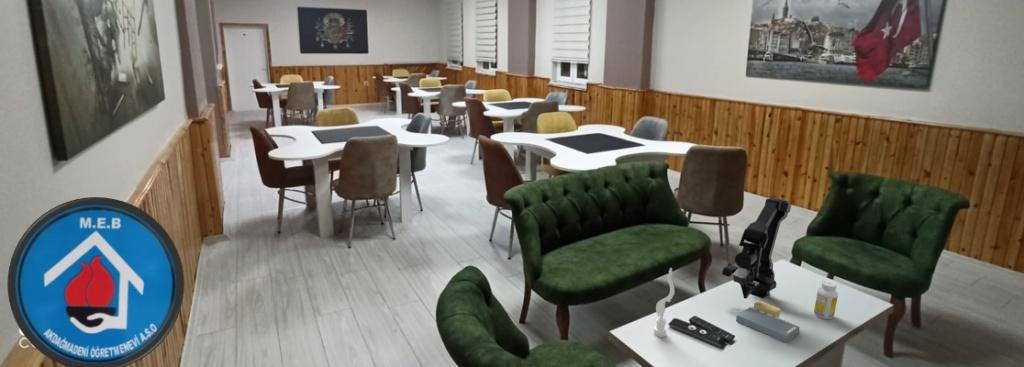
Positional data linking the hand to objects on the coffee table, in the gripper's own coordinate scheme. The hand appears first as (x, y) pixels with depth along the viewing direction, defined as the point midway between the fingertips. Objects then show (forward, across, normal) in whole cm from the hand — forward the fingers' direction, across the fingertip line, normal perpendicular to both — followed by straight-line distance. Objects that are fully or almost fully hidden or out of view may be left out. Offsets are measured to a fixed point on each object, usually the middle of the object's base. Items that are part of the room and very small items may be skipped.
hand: (745, 298), depth 212 cm
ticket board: (+4, +12, -8) cm, 15 cm away
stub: (+4, +8, 0) cm, 9 cm away
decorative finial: (+4, -8, -43) cm, 43 cm away
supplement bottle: (+4, +22, +18) cm, 29 cm away
